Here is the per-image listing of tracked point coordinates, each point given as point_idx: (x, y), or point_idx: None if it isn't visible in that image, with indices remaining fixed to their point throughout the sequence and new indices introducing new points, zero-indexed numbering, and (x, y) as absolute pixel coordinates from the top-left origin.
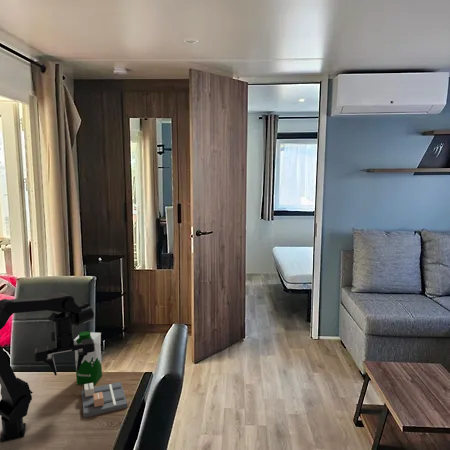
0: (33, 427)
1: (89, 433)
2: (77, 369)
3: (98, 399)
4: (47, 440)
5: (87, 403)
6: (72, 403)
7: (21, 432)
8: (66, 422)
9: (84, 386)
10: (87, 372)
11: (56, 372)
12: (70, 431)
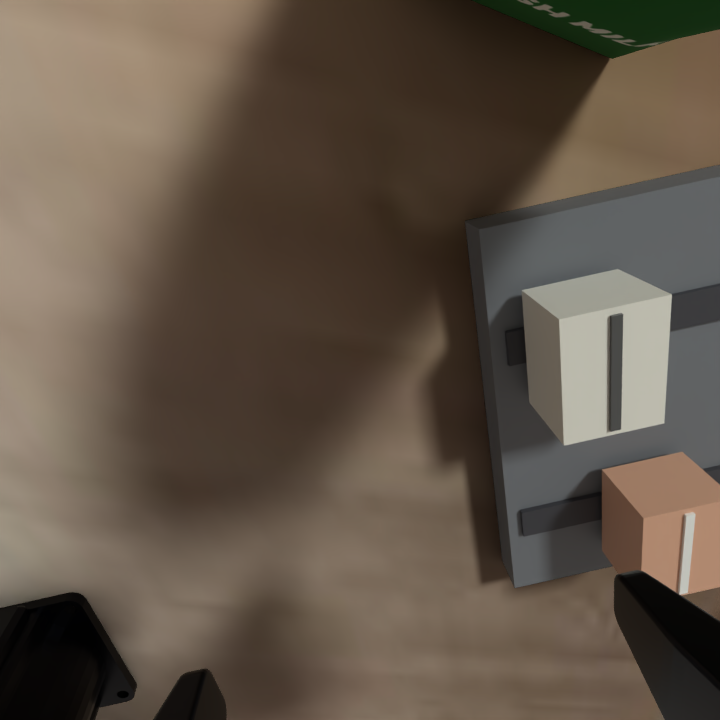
0: (159, 615)
1: (536, 681)
2: (656, 682)
3: (674, 590)
4: (302, 711)
5: (543, 479)
6: (392, 377)
7: (103, 681)
8: (384, 591)
9: (562, 368)
10: (656, 36)
11: (202, 710)
12: (425, 661)
